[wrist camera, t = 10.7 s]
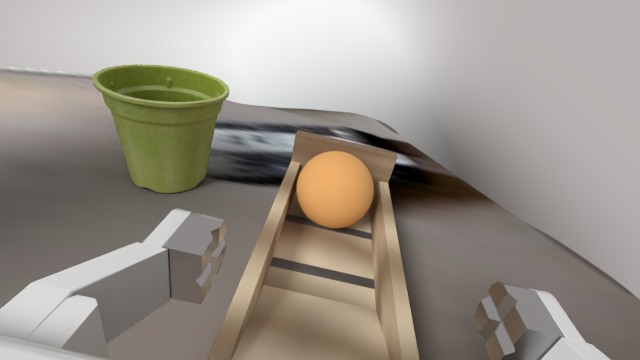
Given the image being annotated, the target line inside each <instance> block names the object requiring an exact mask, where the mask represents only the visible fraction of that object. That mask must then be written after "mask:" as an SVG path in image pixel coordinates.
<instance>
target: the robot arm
mask: <svg viewBox="0 0 640 360" xmlns="http://www.w3.org/2000/svg"><path fill="white" fill-rule="evenodd" d="M226 232H227V221H226V220H223V219H219V218H215V217H211V216H207V215H203V214H199V213H195V212H190V211H186V210H182V209H178V208H176V209H174V210H172V211H171V212H170V213H169V214H168V215H167V216H166V217H165V219H164V220H163V221H162V222H161V223H160V224H159V225H158V226H157V227H156V228H155V230H154V231H153V232H152V233H151V234H150V235H149V236H148V237H147V238H146V239H145V240H144V242H143V243H139V242H136V243H133V244H130V245H128V246H125V247H123V248H120V249H117V250H115V251H112V252H110V253H107V254H105V255H102V256H99V257H97V258H94V259H92V260H89V261H86V262H84V263H81V264H79V265H76V266H73V267H71V268H68V269H66V270H63V271H60V272H58V273H55V274H53V275H50V276H47V277H45V278H42V279H40V280H37V281H34V282H32V283H31V284H29V285H28V286H27V287H26V288H25V289H23V290H22V291H21V292H20V293H19V294H18V295H16V296H15V297H14V298H13V299H12V300H10V301H9V302H8V303H7V304H6V305H5V306H3V307H2V308H1V309H0V360H111V359H110V358H109V354H108V349H107V345H106V344H107V343H108V342H110V341H111V340H112V339H114V338H115V337H117V336H118V335H120V334H121V333H123V332H124V331H126V330H127V329H129V328H130V327H131V326H133V325H134V324H136V323H137V322H139V321H140V320H142V319H143V318H145V317H146V316H148V315H149V314H150V313H152V312H153V311H155V310H156V309H158V308H159V307H161V306H162V305H164V304H165V303H167V302H168V301H169V300H170V298H172V299H177V300H182V301H188V302H193V303H198V304H201V303H202V301H203V299H204V297H205V295H206V294H207V292H208V290H209V288H210V286H211V277H212V276H213V275H215V274H217V273H218V271H219V269H220V267H221V264H222V261H223V258H224V254H225V249H226V242H225V240H224V239H223V237H224V236H225V234H226ZM488 291H489V295H490V296H489V297H487V298H485V299H483V300H481V302H480V303H479V305H478V307H477V309H476V316H475V318H476V325H477V328H478V331H479V333H480V334H481V335H482V336H483V337H484V338H485V339H486V340H487V342H486V344H485V349H486V352H487V354H488V357H489V360H611V359H609V358H608V357H607V356H606V355H604V354H603V353H602V352H601V351H599V350H598V349H597V348H596V347H594V346H593V345H592V344H588V343H586V342H585V341H584V339H583V338H582V336H581V335H580V334H579V332H578V331H577V329H576V328H575V326H574V325H573V323H572V322H571V320H570V319H569V318H568V316H567V315H566V313H565V312H564V310H563V309H562V307H561V306H560V305H559V303H558V302H557V300H556V299H555V297H554V296H553V295H551V294H550V293H549V292H545V291H540V290H535V289H528V288H524V287H519V286H515V285H510V284H506V283H501V282H496V283H494V284H492V286H491V287H490V288H489V290H488Z"/></svg>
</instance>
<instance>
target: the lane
mask: <svg viewBox="0 0 640 360" xmlns="http://www.w3.org/2000/svg"><path fill="white" fill-rule="evenodd" d="M329 151H341V152H346V153H349V154H351V155H353V156H355V157H357V158H358V159H359V160H360V161H362V162H363V163H364V165H365V166H366V167H367V169H368V170H369V172H370V174H371V177H372V180H373V185H374V195H373V200H372V203H371V205H370V207H369V209H368V211H367V212H366V214H365V215H364V216H363V217H362V218H361V219H360V220H359V221H357V222H356V223H354V224H352V225H350V226H347V227H344V228H327V227H323V226H321V225H318V224H316V223H315V222H313V221H312V220H310V219H309V218H308V217H307V216H306V215H305V213H304V212H303V211H302V209H301V207H300V205H299V202H298V199H297V193H296V187H297V180H298V177H299V175H300V172H301V171H302V169H303V167H304V166H305V165H306V164H307V163H308V162H309V161H310V160H311V159H312V158H314V157H315V156H317V155H319V154H321V153H324V152H329ZM396 159H397V155H396V153H395V152H391V151H386V150H382V149H378V148H373V147H369V146H365V145H360V144H356V143H351V142H347V141H343V140H338V139H334V138H330V137H325V136H321V135H316V134H312V133H308V132H303V131H299V130H298V131H297V133H296V136H295V142H294V148H293V154H292V159H291V163H290V165H289V167H288V170H287V172H286V175H285V177H284V179H283V182H282V184H281V186H280V189H279V191H278V193H277V196H276V198H275V200H274V203H273V205H272V208H271V210H270V212H269V215H268V217H267V219H266V222H265V224H264V226H263V229H262V231H261V233H260V236H259V238H258V241H257V243H256V245H255V248H254V250H253V252H252V255H251V257H250V259H249V262H248V264H247V266H246V269H245V271H244V274H243V276H242V278H241V281H240V283H239V285H238V288H237V290H236V292H235V295H234V297H233V300H232V302H231V304H230V307H229V309H228V311H227V314H226V316H225V318H224V321H223V323H222V325H221V328H220V330H219V333H218V335H217V337H216V340H215V342H214V344H213V347H212V349H211V351H210V354H209V356H208V358H207V360H419V354H418V348H417V343H416V337H415V332H414V326H413V320H412V315H411V309H410V304H409V298H408V292H407V287H406V281H405V276H404V270H403V264H402V259H401V253H400V248H399V242H398V236H397V231H396V225H395V219H394V214H393V208H392V203H391V197H390V191H389V186H388V182H389V179H390V176H391V173H392V171H393V168H394V165H395V162H396Z"/></svg>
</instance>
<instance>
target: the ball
mask: <svg viewBox="0 0 640 360" xmlns="http://www.w3.org/2000/svg"><path fill="white" fill-rule="evenodd" d="M296 193H297V199H298V202H299V205H300V207H301V209H302V211H303V212H304V213H305V215H306V216H307V217H308V218H309V219H310V220H312V221H313V222H315V223H316V224H318V225H321V226H323V227H327V228H344V227H347V226H350V225H352V224H354V223H356V222H357V221H359V220H360V219H361V218H362V217H363V216H364V215H365V214H366V212H367V211H368V209H369V207H370V205H371V203H372V200H373V195H374V185H373V180H372V177H371V174H370V172H369V170H368V169H367V167H366V166H365V165H364V163H363V162H362V161H360V160H359V159H358V158H357V157H355V156H353V155H351V154H349V153H346V152H341V151H329V152H324V153H321V154H319V155H317V156H315V157H314V158H312V159H311V160H310V161H309V162H308V163H307V164H306V165H305V166H304V167H303V169H302V171H301V172H300V175H299V177H298V180H297V187H296Z"/></svg>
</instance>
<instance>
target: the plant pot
mask: <svg viewBox="0 0 640 360" xmlns="http://www.w3.org/2000/svg"><path fill="white" fill-rule="evenodd" d="M92 80H93V84H94V86H95V87H96V88H97V89H98V90H99V91H100V92H102V94H103V97H104V100H105V103H106V105H107V107H108V108H109V109H110V110H111V113H112V116H113V119H114V122H115V126H116V129H117V132H118V136H119V139H120V142H121V145H122V149H123V152H124V155H125V158H126V162H127V166H128V169H129V172H130V175H131V179H132V181H133V182H134V183H135V184H136V185H137V186H139V187H146V188H149V189H151V190H154V191H155V192H158V193H177V192H182V191H186V190H189V189H192V188H194V187H196V186H197V185H198V183H199V182H200V181H201V180H203V179H204V178H205V175H206V170H207V165H208V160H209V154H210V149H211V143H212V138H213V133H214V128H215V124H216V119H217V115H218V114H219V112H220V110H221V107H222V103H223V100H225V99H226V98H227V97H228V95H229V88H228V86H227V85H226V84H225V83H224V82H223V81H221V80H220V79H218V78H215V77H213V76H210V75H208V74H204V73H201V72H197V71H193V70H188V69H183V68H177V67H170V66H161V65H122V66H115V67H110V68H106V69H103V70H101V71H99V72H97V73H95V74H94V75H93V77H92Z"/></svg>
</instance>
